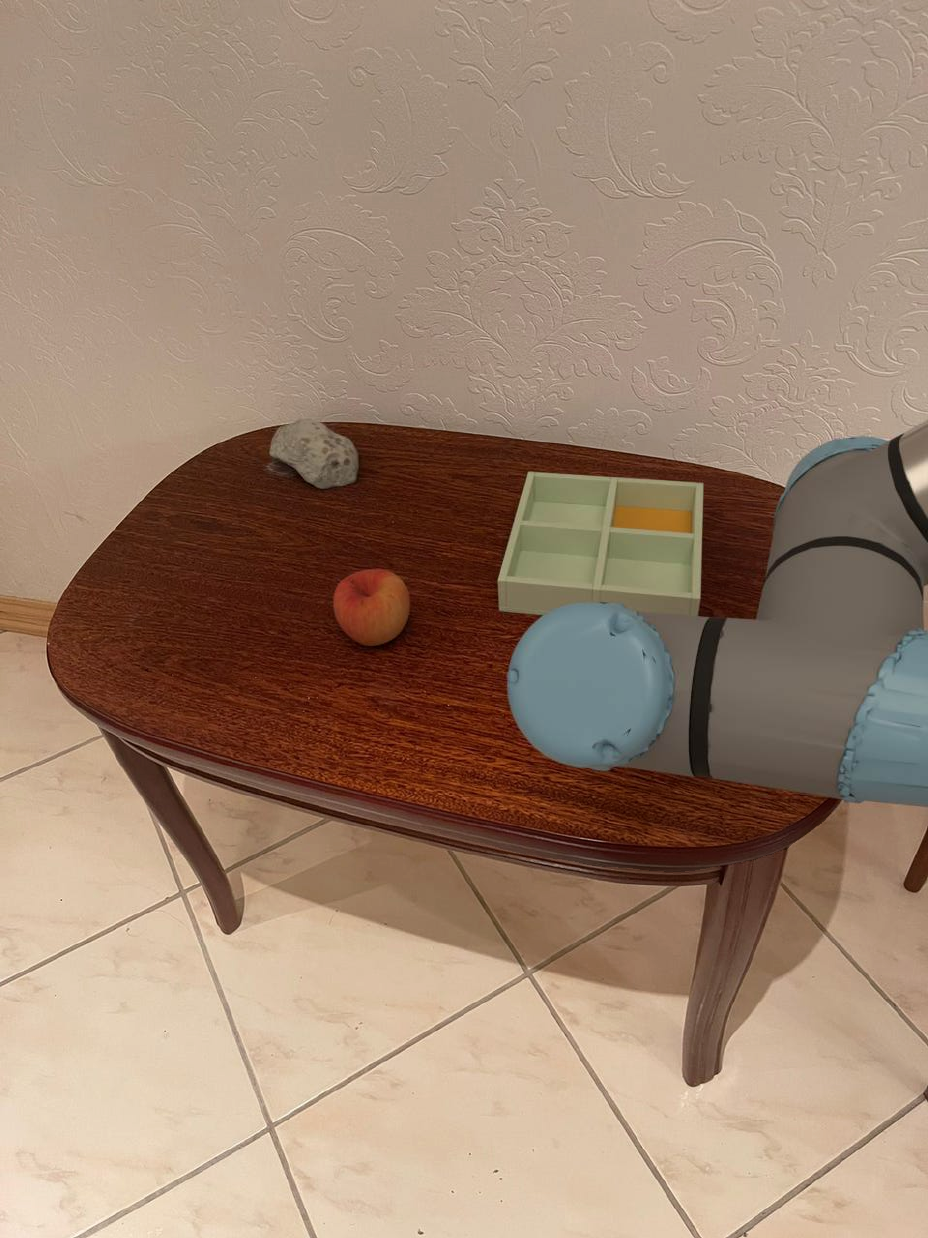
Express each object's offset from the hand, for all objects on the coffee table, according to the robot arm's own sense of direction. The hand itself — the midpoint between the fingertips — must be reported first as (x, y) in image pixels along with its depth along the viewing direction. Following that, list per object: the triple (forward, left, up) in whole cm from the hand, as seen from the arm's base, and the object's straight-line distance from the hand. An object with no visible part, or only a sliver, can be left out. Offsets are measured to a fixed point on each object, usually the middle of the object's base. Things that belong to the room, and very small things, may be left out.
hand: (706, 694), depth 74 cm
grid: (+10, -23, -5) cm, 25 cm away
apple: (+31, -8, -5) cm, 33 cm away
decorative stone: (+47, -37, -5) cm, 60 cm away
